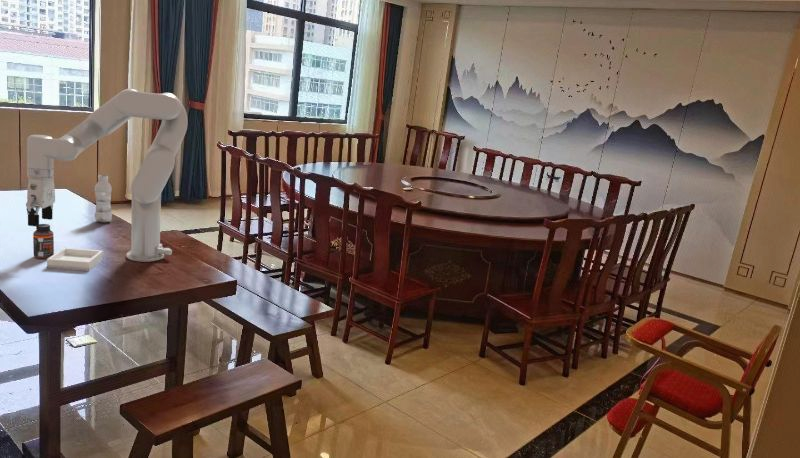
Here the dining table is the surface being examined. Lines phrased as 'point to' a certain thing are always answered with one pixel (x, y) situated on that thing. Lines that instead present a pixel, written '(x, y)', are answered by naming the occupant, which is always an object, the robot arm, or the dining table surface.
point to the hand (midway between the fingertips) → (40, 222)
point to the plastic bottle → (103, 199)
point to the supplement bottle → (43, 242)
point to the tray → (75, 259)
